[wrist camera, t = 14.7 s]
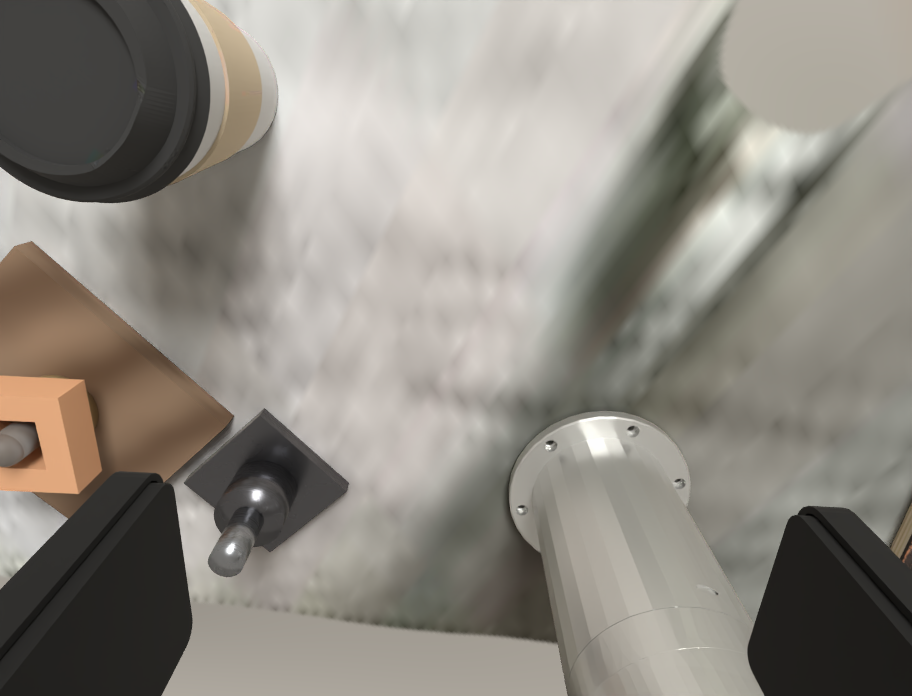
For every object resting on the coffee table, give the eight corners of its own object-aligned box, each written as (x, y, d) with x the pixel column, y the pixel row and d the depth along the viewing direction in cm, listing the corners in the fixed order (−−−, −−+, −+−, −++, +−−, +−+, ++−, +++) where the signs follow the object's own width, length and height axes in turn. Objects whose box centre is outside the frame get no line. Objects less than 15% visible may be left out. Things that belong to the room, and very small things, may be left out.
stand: (348, 482, 42) (323, 568, 34) (273, 542, 44) (233, 636, 36) (264, 408, 40) (216, 480, 32) (189, 474, 42) (127, 558, 34)
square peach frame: (84, 379, 35) (57, 398, 33) (102, 470, 38) (78, 493, 35) (-24, 374, 35) (-58, 392, 33) (1, 465, 37) (-30, 488, 35)
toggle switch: (233, 415, 40) (186, 479, 33) (110, 527, 44) (44, 605, 37) (31, 241, 36) (-72, 271, 29) (-88, 380, 39) (-206, 437, 32)
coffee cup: (103, 96, 33) (-161, 82, 19) (190, -47, 30) (-41, -187, 16) (239, 205, 35) (94, 266, 21) (331, 80, 32) (234, 53, 18)
